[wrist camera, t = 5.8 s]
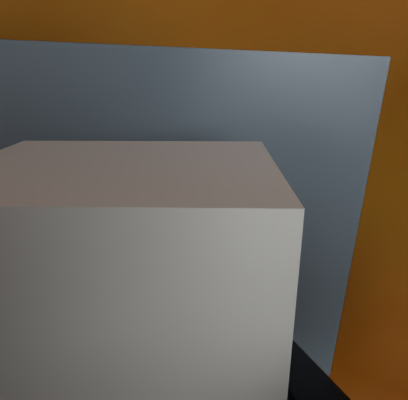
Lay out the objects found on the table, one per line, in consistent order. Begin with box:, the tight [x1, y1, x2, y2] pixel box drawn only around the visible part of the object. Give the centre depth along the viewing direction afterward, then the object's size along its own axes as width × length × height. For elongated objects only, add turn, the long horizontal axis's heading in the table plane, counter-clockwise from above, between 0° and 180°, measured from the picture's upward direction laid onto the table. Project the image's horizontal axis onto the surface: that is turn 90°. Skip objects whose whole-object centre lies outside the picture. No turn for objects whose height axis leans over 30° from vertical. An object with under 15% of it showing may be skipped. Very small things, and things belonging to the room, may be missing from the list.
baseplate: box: [0, 39, 391, 376], centre depth 13 cm, size 12×12×2 cm
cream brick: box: [0, 141, 305, 400], centre depth 7 cm, size 5×8×4 cm, turn 0°
